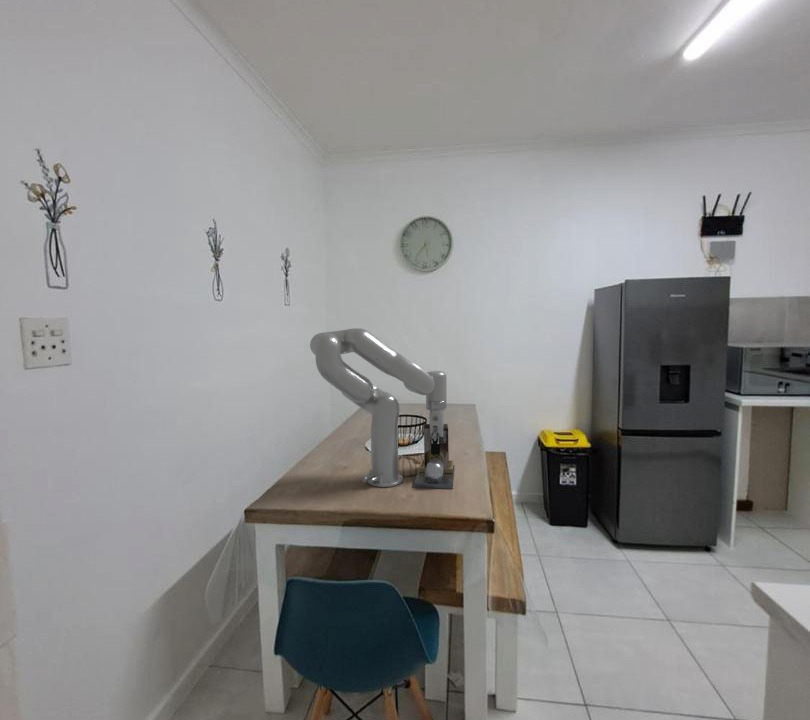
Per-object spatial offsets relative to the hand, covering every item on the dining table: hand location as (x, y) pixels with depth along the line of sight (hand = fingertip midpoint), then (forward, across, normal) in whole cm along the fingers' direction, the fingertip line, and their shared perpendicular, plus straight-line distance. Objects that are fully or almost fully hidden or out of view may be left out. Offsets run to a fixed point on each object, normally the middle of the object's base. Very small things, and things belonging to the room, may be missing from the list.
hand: (436, 450), depth 157 cm
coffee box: (+7, 0, 0) cm, 7 cm away
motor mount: (+8, -5, 0) cm, 10 cm away
